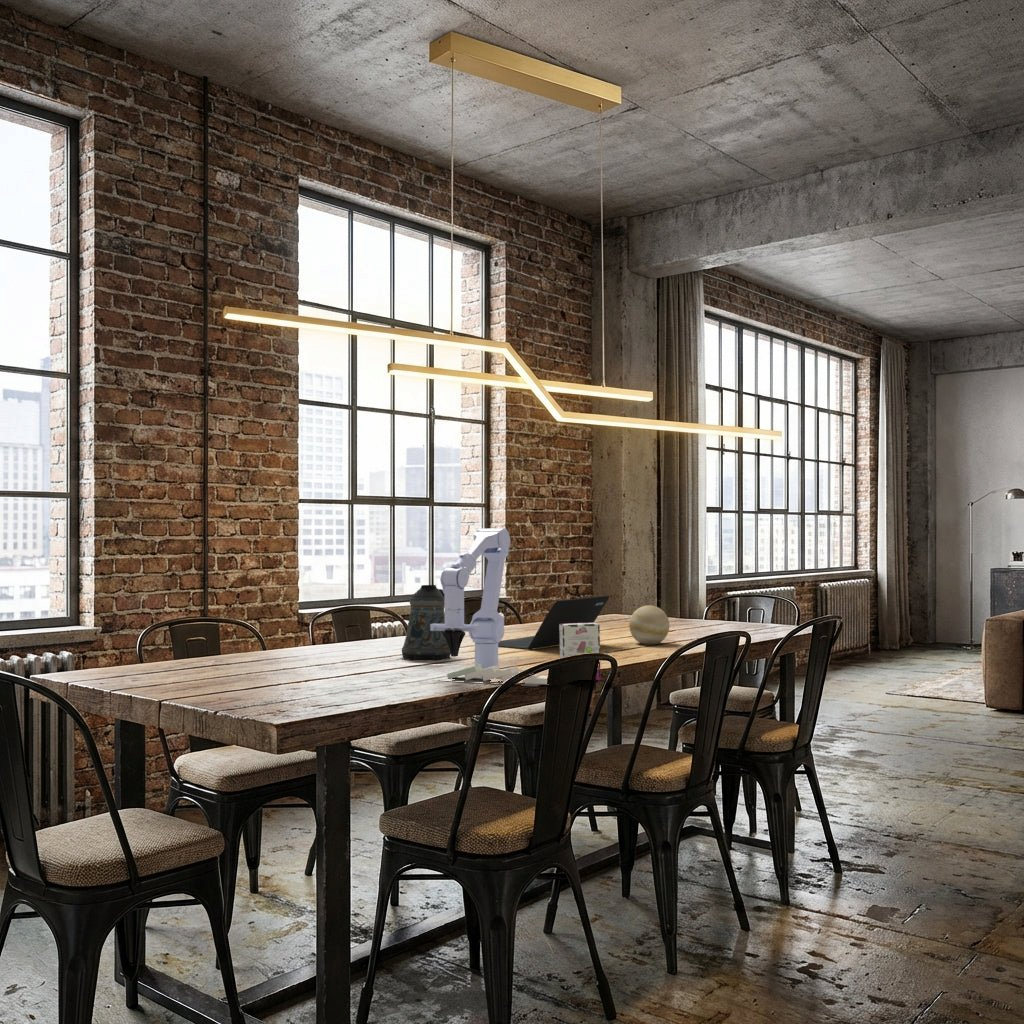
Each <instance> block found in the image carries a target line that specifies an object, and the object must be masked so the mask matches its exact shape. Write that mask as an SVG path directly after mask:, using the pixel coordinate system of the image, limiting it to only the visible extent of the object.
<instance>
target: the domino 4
mask: <svg viewBox="0 0 1024 1024" xmlns="http://www.w3.org/2000/svg"><path fill="white" fill-rule="evenodd" d="M547 676H548V675H533V676H530V677H528V678H527V679H525V680H523V681H522V683H523V682H525V683H529V684H542V685H548V684H547Z"/></svg>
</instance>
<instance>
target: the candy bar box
mask: <svg viewBox="0 0 1024 1024" xmlns="http://www.w3.org/2000/svg"><path fill="white" fill-rule="evenodd" d="M600 627H601V626H600V623H599V622H594V623H571V624H559V630H560V645H559V659H560V658H562V657H568V656H574V655H580V654H589V653H600V654H601V635H600V633H601V632H600V631H601V630H600ZM595 681H601V661H600V662H599V666H598V673H597V678H596V680H595Z"/></svg>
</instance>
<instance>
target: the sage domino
mask: <svg viewBox="0 0 1024 1024" xmlns="http://www.w3.org/2000/svg"><path fill="white" fill-rule="evenodd" d="M479 670H482V666H481V664H479V665H476V666H475V665H473V666H469V667H466V668H462V669H459V670H454V671H452V672H449V673H446V676H447V679H451V678H459V677H463V676H465V675H466V674H469V673H473V672H476V671H479Z"/></svg>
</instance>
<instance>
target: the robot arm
mask: <svg viewBox="0 0 1024 1024" xmlns="http://www.w3.org/2000/svg"><path fill="white" fill-rule="evenodd" d="M510 545H511V536H510V533H509V531H508V530H507V528H504V527H502V528H478V529H476V531H475V532H474V534H473V542H472V544H471V545H470V546H469V548H468V550H467V552H461V553H460V554H459V556H458V557H457V558H456V559H455V561H454V562H453V564H452V565H451V566H450V567H447V568H445V569H444V570H443V571H442V572H441V576H440V578H439V580H440V585H441V588H442V590H443V593H444V594H445V605H444V615H445V624H430V631H445V633H443V635H444V637H445V639H446V641H447V643H448V646H449V649H450V658H451V657H453V658H455V657H456V658H457V657H458V656H459V653H460V652H459V651H460V648H461V645H462V642H463V640H464V638H465V635H466V632H468V635H469V637H470V639H471V640H472V643H474V666H476V665H479V664H481V666H482V669H486V668H489V667H493V666H496V665H499V647H498V642H500V641H502V639H503V638H504V636H505V635H504V634H505V619H504V617H503V616H502V615H501V614H500V613H499V612H498V607H499V603H500V595H501V589H502V587H501V586H502V581H503V576H504V570H505V569H504V567H505V562H506V558H507V557H509V551H510ZM481 556H482V557H484V558H486V559H487V567H486V573H485V579H484V587H483V591H482V597H481V598H482V599H481V602H480V603H481V605H480V609H479V610H478V611H476V612H475V613H474V614H473V615H472V618H471V622H470V623H469V624H468V623H467V624H466V623H465V588H466V587H467V586H468V582H469V578H470V576H471V573H472V572H473V570H475V569H476V567H477V564H478V563H477V560H478V559H479V557H481ZM448 628H450V629H448ZM500 670H501V669H500ZM500 670H499V671H500Z"/></svg>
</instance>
